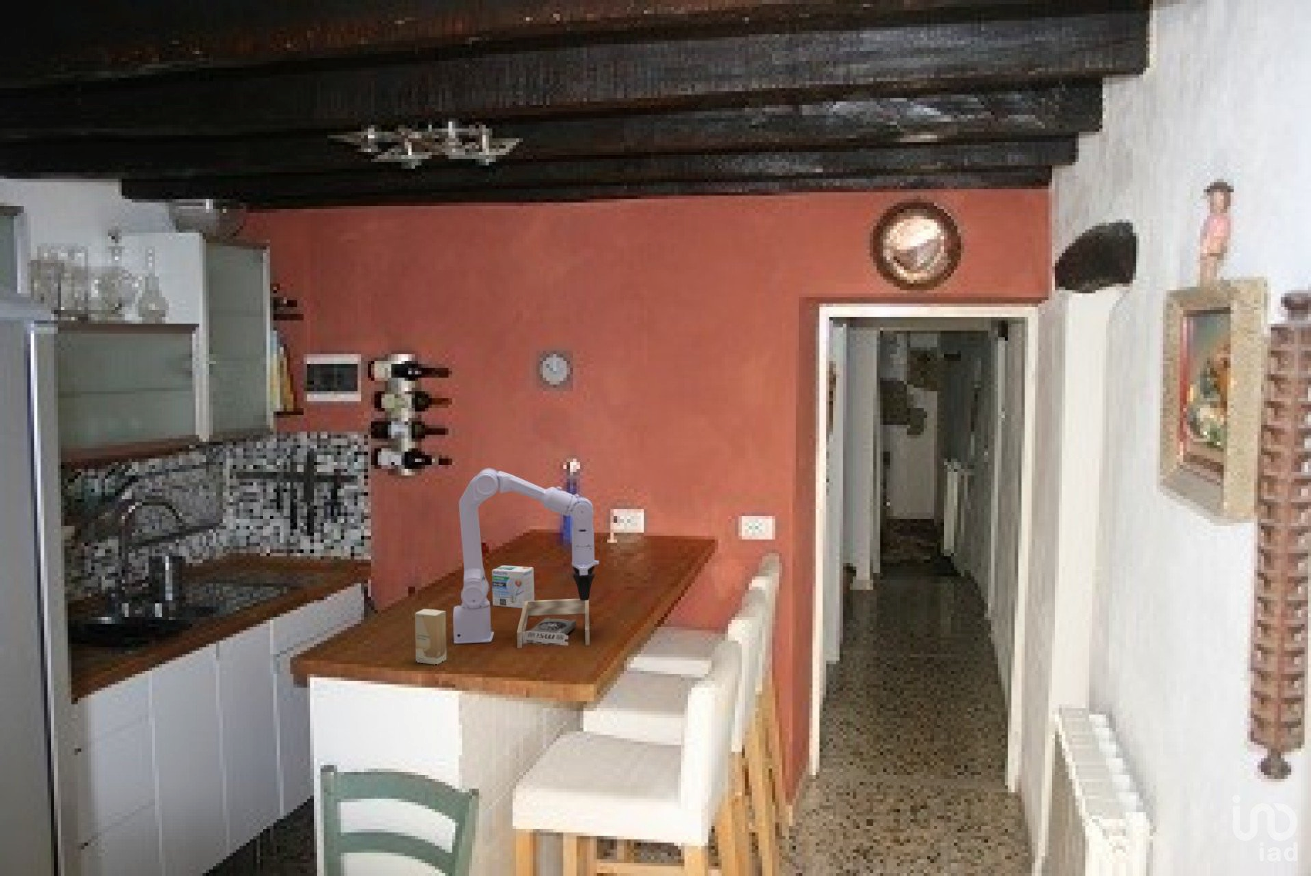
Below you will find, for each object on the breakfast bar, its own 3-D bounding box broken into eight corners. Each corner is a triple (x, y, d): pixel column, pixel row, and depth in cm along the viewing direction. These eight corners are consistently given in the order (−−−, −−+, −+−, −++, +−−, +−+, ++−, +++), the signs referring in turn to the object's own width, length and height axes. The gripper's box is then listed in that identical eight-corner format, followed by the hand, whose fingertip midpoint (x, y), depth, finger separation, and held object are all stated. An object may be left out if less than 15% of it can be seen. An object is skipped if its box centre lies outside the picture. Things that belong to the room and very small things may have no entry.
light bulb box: (492, 605, 286) (490, 569, 285) (503, 600, 293) (502, 564, 292) (524, 608, 283) (523, 571, 282) (535, 602, 289) (534, 566, 288)
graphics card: (566, 635, 245) (521, 631, 248) (566, 649, 245) (521, 646, 248) (587, 617, 261) (544, 614, 264) (586, 631, 262) (544, 628, 264)
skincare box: (415, 662, 235) (413, 612, 234) (425, 657, 239) (423, 608, 238) (438, 665, 233) (436, 614, 232) (448, 659, 237) (446, 610, 236)
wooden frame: (517, 648, 245) (516, 632, 244) (524, 614, 275) (524, 601, 275) (589, 645, 246) (589, 629, 246) (589, 612, 277) (588, 598, 276)
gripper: (598, 550, 246) (600, 602, 247) (598, 539, 261) (599, 589, 262) (570, 551, 246) (572, 604, 247) (571, 539, 260) (573, 590, 261)
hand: (584, 596), depth 254 cm, fingers open, 7 cm apart
